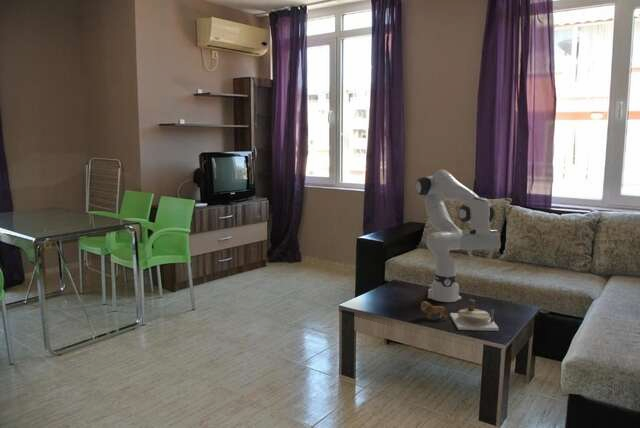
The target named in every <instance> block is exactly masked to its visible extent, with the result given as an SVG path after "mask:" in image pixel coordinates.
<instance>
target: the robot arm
mask: <svg viewBox="0 0 640 428" xmlns="http://www.w3.org/2000/svg"><path fill="white" fill-rule="evenodd" d="M415 190H416V193H417V194H418V195H419V196H424V207H425V210H426V213H427V214H426V215H427V217H428V219H429V222H430V225H431V226H432V227H433V228H434V229H436V230H438V231H435V232H434V231H433V232H432V233H429V234H427V235H426V237H425V238H426V239H425V245H426V247H427V249H428V250H429V251H431V253H432V254H433V255H434V258H435V273H434V280H433V282H432V284H429V289H428V292H427V299H431V300H434V301H438V302H443V303H453V302H457V301H460V300H462V296H461V295H460V294H459V292H460V286H459V284H458V282H457V261H456V260H455V259H454V258H453V257H452V256H451V255H450V251H458V250H462V251H467V254H468V256H469V260H475V255H474V254H472V253H473V251H479V250H480V251H481V250H488V251H489V252H488V254H487V255H486V257H487V259H492V257H493V254H494V252H495V250H499V249H501V247H502V242H501V233H500V232H499V231H498V230H497V229H493V230H492V229H491V222H492V221H493V219H495V216H496V210H495V209H494V207H493V205H492V204H491V203H490V202H489V199H487V198H486V197H480V196H479V195H478V194H476V193H475V192H474V191H473V190H472V189H470V188H468V187H466V186H465V185H463V183H461V182H459V181H458V180H457V179H456V178H455V177H454V175H453V174H451V172H449V171H448V170H446V169H438V170H437V171H435V172H434V173H433V175H428V176H422V177H419V178H418V179H417V180H416V182H415ZM444 198H445V199H447V200H450V201H451V200H452V201H460V202H465V204H462V205H461V206H460V207H459V209H458V212H457V213H458V215H457V216H458V219H459V220H460V222H462V223H464V224H470V226H469V227H467V228H463V229H460V228H459V227H458V226H457V225H456V224H455V223H454V222H453V220H452V218H451V217H450V215H449V212H448V209H447V207H446V204H445V202H444Z"/></svg>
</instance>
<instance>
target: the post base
mask: <svg viewBox="0 0 640 428" xmlns="http://www.w3.org/2000/svg"><path fill="white" fill-rule="evenodd" d="M494 313H495V310H494V309H490V319H489V320H488V321H485V322H471V321H467V320H464V319H461V318H460V317H459V316H458V312H450V314H449V316H450V318H451V320H452V322H453V323H454V325H455V327H456V329H457V330H459V331H462V330H463V331H493V332H494V331H495V332H498V331H500V330H499V326H498V325H497V323H496V322H495V321H494Z"/></svg>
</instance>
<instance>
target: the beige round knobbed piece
mask: <svg viewBox="0 0 640 428" xmlns="http://www.w3.org/2000/svg"><path fill="white" fill-rule="evenodd" d="M475 304H476V300H475V299H468V306H467V308H462V309H460V310H458V311H457V313H458V316H459V317H460V318H461V319H464V320H467V321H471V322H485V321H488V320H489V319H490V317H491V313H489V312H488V311H485V310H482V309H479V308H475V306H476V305H475Z"/></svg>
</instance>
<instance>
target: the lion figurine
mask: <svg viewBox="0 0 640 428" xmlns="http://www.w3.org/2000/svg"><path fill="white" fill-rule="evenodd" d="M420 309H421V311H423V312H424V314H427V315H426V317H425V318H426V319H427V320H431V318H432V317H431V316H432V314H438V313H439V314H440V316H439V315H438V319H441V318H442V317H444V319H443V320H444V321H447V320H448V319H450V317H449V316H448V312H447V309H446V308H445V307H444V306H441V305H438V306H436V305H434V304H432V303H430V302H428V301H422V302H420Z"/></svg>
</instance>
